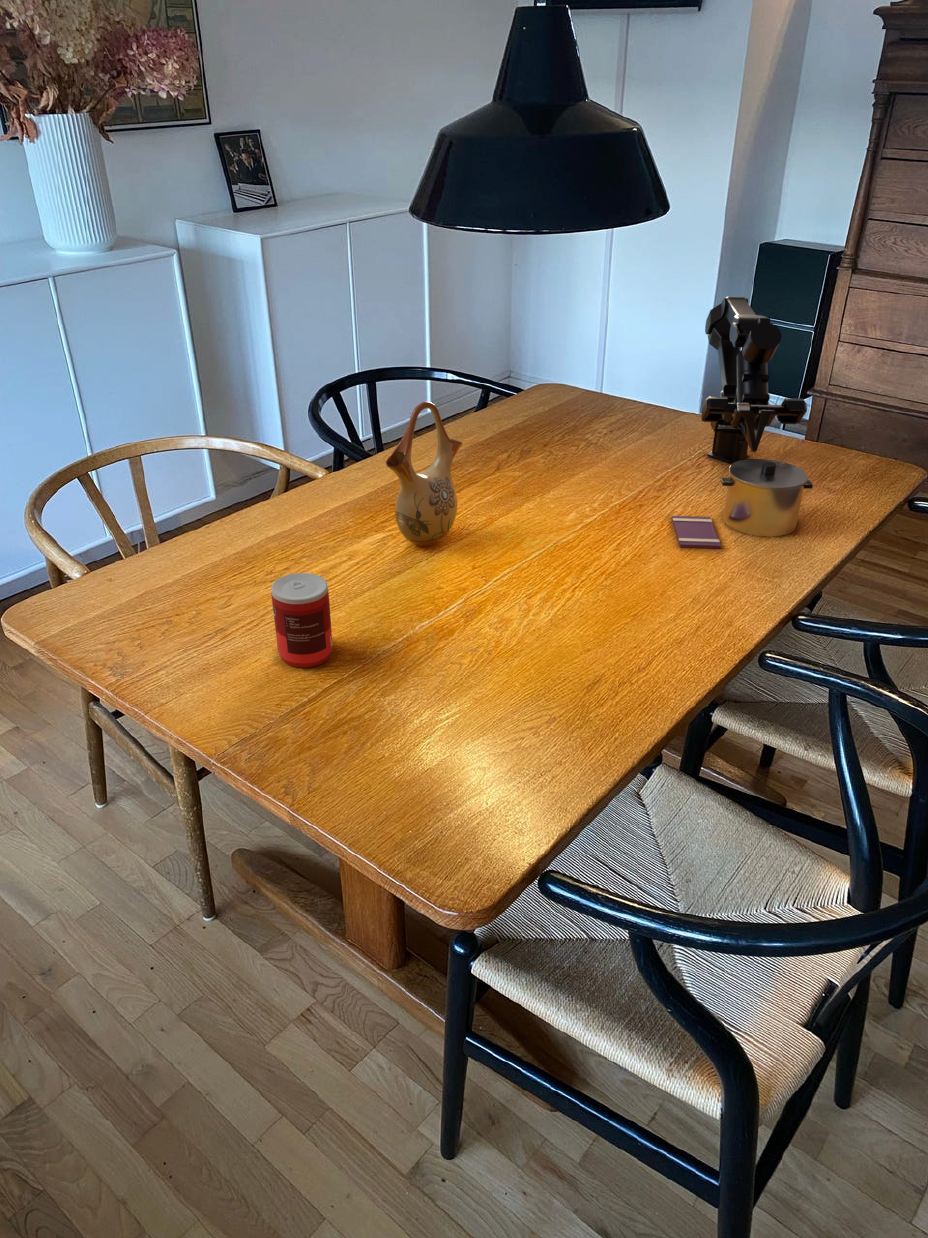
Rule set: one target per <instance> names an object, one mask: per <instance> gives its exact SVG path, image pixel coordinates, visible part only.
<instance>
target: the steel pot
mask: <svg viewBox="0 0 928 1238" xmlns="http://www.w3.org/2000/svg"><path fill="white" fill-rule="evenodd" d="M728 475H729V477H720V480H719V481H720V483H721V485H722V487H727V489H726V496H725V501H724V508H723V514H722V520H723V522H724V523H725V524H726V525H727V526H728V527H729V528H730V529H733V530H735V531H737V532H738V533H739V532H740V533H743V534H746V535H749V536H750V535H751V536H755V537H765V538H767V537H768V538H771V537H772V538H773V537H774V538H775V537H781V536H785V535H788V534H791V533H793V532H794V531H795V530H796V527H797V522H798V518H799V514H800V509H801V503H802V499H803V494H804V491H805V489H810V490H811V489H813V487H814V485H813V483H812V482H811V480H810V479H809V476H808V474H807V473H806V471H805V470H804V469H802V468H800V467H799V466H796V465H794V464H792V463H788V462H786V461H781V460H776V459H768V458H746V459H742V460H740V461H737V462H735V463H731V464H730V465H729V468H728Z"/></svg>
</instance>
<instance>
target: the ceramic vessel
mask: <svg viewBox="0 0 928 1238" xmlns="http://www.w3.org/2000/svg"><path fill="white" fill-rule="evenodd" d="M427 409H428V410H430V412H431V414H432V416H433V419H434V420H433V421H434V423H435V428H436V436H437V447H436V448H437V449H436V454H435V457H434V459H433V461H432V463H430V465H429V466H428V467H427V468H426V469H424V470H421V471H419V472H417V471H415V469H414V467H413V463H412V449H413V441H414V436H415V435H414V434H415V429H416V425H417V421H418V419H419V418H418V417H419V415H420V413H422V412H423V411H424V410H427ZM462 445H463V442H462V441H461V440H457V439H453V438H451V437H449V435H448V433H447V431H446V429H445V427H444V424H443V421H442V417H441V414H440V411H439V409H438V407H437V405H436V404H435V403H433V402H431V401H422V402H421V403H419V404H417V406H416V407H414V409H413V411H412V412H411V414H410V418H409V421H408V424H407V427H406V429H405V432H404V433H403V436H402V437H401V439H400V441H399V443H398V444H397V446H396V447H395V449H394V450H393V451H392V453H391V455H390V456H389V457H388V458H387V459H386V460H385V465H386V467H387V468H388V469H389V470H391V471H392V472H393V473H395V475H396V476H397V478H398V480H399V483H400V487H399V491H398V492H397V496H396V499H395V504H394V515H395V522H396V524H397V527H398V530H399V532H400V533H401V534H402V536H403V537H404V538H405V539H406V540H407V541H408V542H410V543H411V544H413V545H415V546H419V547H429V546H432V545H433V546H434V545H436V544H437V543H439V542H440V541H441V540H443V538H445V537H446V536H447V534H448V533H449V532H450V530H451V529H452V527H453V525H454V523H455V521H456V517H457V513H458V495H457V491H456V487H455V486H454V485H455V484H454V483H453V479H452V465H453V462H454V458H455V456H456V455H457V454H458V452H459V450H460V448H461V447H462Z"/></svg>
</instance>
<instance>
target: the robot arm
mask: <svg viewBox="0 0 928 1238" xmlns="http://www.w3.org/2000/svg"><path fill="white" fill-rule="evenodd" d="M704 333H705V335H707V339H708V340H707V341H708V345H710V346H711V347H712V348H714V349H715V350H716V351H717V357H718V364H719V372H720V380H721V388H722V390H721V391H720V394H719V395H720V396H714V395H713V396H711V395H709V396H708V397H707V398H706V399H705V401H704V403H703V406H702V408H701V414H700V415H701V416H700V417H701V421H702V422H704V423H710V427H711V429H712V432H714V434H713V441H712V448H711V451H709V452H707V454H706V456H707V457H710V458H713V459H715V460H719V461H722V462H724V463H727V464H733V463H735V462H738V461H741V460H746V459H748V458H749V456H750V455H749V454H748V449H750V452H751V453H756V452H757V451H758V448H759V445H760V442H761V440H762V436H763V434H764V432H765V430H766V429H765V428H767V427H770V426H771V424H772V423H773V422H774V419H775V418H776V416H777V419H776V420H777V422H779V423H780V424H781V425H797V424H799V423H800V422H801V420H802V419H803V418H804V416H805V414H806V413H807V412H808V405H807V401H805V399H804V398H795V397H794V398H792V397H791V398H788V397H785V398H784V399H783V401H782V403H781V404H770V403H769V401H770V400H771V398H770V397H771V394H770V393H769V381H770V374H769V373H768V372H769V371H768V362H771V360H772V358H773V356H774V354H775V353H776V351H777V349H778V347H779V346H780V343H781V342H782V338H783V333H782V332H781V330H780V329H779V328H778V326H776V325H775V324H773V323H771V317H767V316H765V315H759V314H756V313H755V312H754V310H753V308H752V307H751V305H749V298H748V297H745V296H726V297H723V298H722V301H721V303H719V304H718V305H716V306H714V307H713V308H711V309H710V310H709V312H708V315H707V317H706V320H705V326H704Z"/></svg>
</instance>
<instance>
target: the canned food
mask: <svg viewBox="0 0 928 1238" xmlns="http://www.w3.org/2000/svg"><path fill="white" fill-rule="evenodd" d="M270 587H271V588H270V595H271V604H272V613H273V622H274V629H275V636H276V644H277V652H278V655H279V657H280V659H281V660H282V661H283V663H285V664H287V665H289V666H292V667H295V668H303V669H305V668H312V667H316V666H320V665H322V664H323V663H325V662H327V661H328V660H329V659H330V658H331V656H332V653H333V649H334V644H333V633H332V632H333V631H332V618H331V606H330V605H331V603H330V593H329V586H328V582H327V580H326V579H325V578H323V577H322V576H320V575H318V574H314V573H309V572H294V573H290V574H286V575H282V576H281V577H279V578H277V579H275V580H274V581H273V583H272V584H271V586H270Z"/></svg>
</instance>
